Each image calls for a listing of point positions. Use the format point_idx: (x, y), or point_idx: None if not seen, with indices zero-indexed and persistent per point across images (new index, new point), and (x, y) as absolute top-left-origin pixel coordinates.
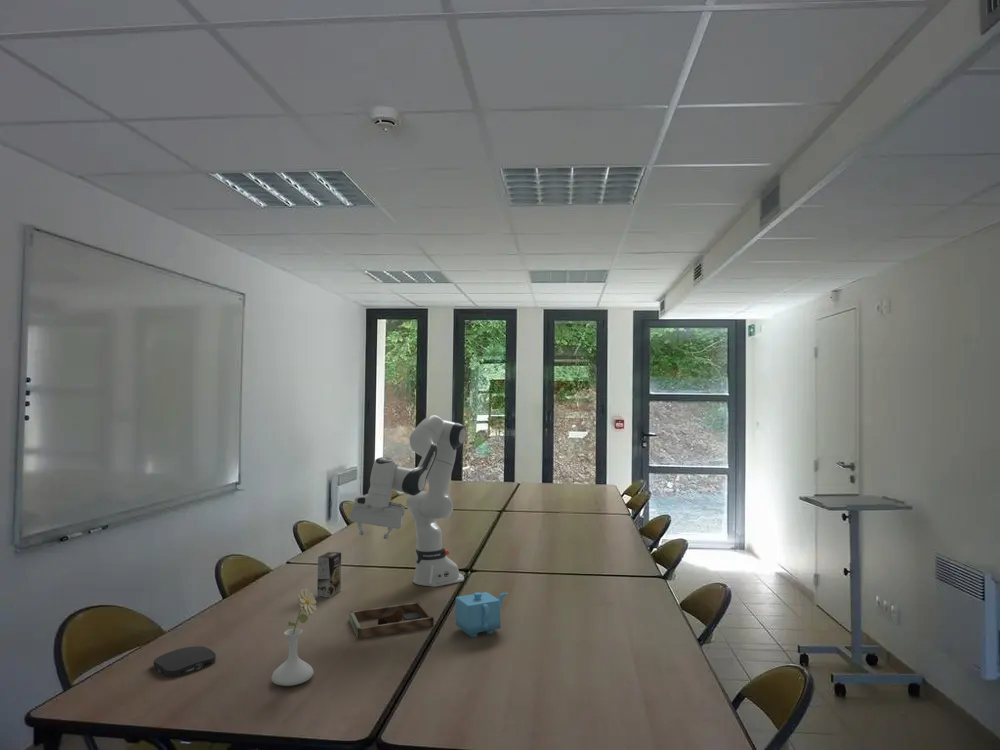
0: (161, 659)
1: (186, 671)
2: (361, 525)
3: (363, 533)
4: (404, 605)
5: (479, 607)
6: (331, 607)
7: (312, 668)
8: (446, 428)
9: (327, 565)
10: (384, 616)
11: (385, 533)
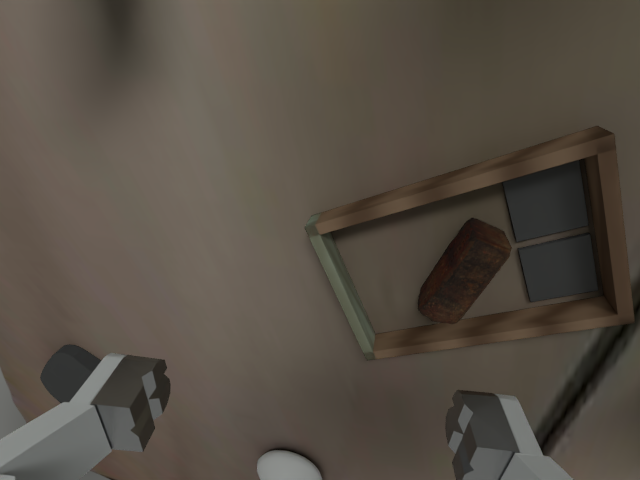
0: (55, 392)
1: None
2: (16, 459)
3: (160, 401)
4: (525, 174)
5: None
6: (205, 78)
7: (316, 476)
8: None
9: None
10: (440, 318)
11: (480, 465)
